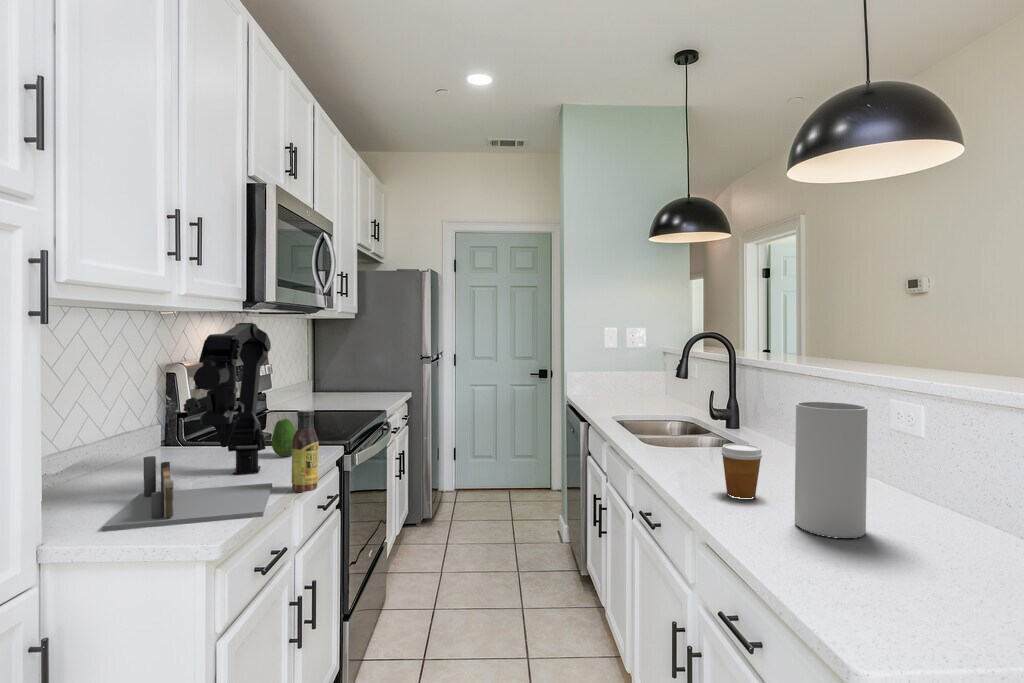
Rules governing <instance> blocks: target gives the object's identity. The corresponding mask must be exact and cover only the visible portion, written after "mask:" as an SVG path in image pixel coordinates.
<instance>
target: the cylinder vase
mask: <svg viewBox="0 0 1024 683" xmlns="http://www.w3.org/2000/svg"><path fill="white" fill-rule="evenodd" d="M794 447H795V449H794V450H795V456H794V457H795V461H794V462H795V464H794V465H795V466H794V467H795V468H794V475H795V476H794V478H795V479H794V523H795V524H796V526H797V527H798V526H799V527H800V529H801V528H802V529H801V530H803V529H804V530H803V531H805V530H806V531H805V532H807V531H809V532H812V533H815V534H819V535H824V536H830V537H837V538H854V539H858V537H859V538H861V537H863V536H864V535H865V534H866V532H867V481H868V480H867V479H868V478H867V476H868V475H867V474H868V473H867V471H868V470H867V468H868V467H867V466H868V464H867V463H868V460H867V459H868V407H867V406H864V405H860V404H852V403H845V402H834V401H833V402H831V401H829V402H828V401H801V402H796V403H795V446H794ZM799 527H798V528H799ZM809 532H808V533H809ZM812 533H811V534H812ZM815 534H814V535H815ZM819 535H818V536H819Z"/></svg>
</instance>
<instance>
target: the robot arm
mask: <svg viewBox="0 0 1024 683" xmlns="http://www.w3.org/2000/svg"><path fill="white" fill-rule="evenodd" d="M202 345H203V346H202V349H201V352H200V356H199V360H198V363H199V364H202V366H200V367H199V368H198V369H196V371H195V373H194V375H193V379H194V380H193V381H194V383H195V385H196V386H197V387H198V388H199V389H201V390H204V391H207V392H206V395H204V396H201V397H200V398H199V397H198V398H196V397H195V396H192V397H190V398H188V399H186V400H185V403H184V404H183V412H186V413H187V416H188V417H191V416H194V415H195V414H197V413H200V412H203V411H205V410H206V412H204V413H203V414H202V415H201V416H200V417H199V418H200V426H212V427H214V429H215V430H216V434H217V437H218V440H219V443H220V446H221V448H226V447H227V449H228V450H227V451H228V452H235V468H234V470H233V472H232V475H243V474H244V475H247V474H258V473H260V470H261V468H262V466H261V465H259V451H263V450H266V438H265V436H264V433H263V430H262V425H261V423H260V421H259V418H258V417H257V416H256V414H257V407H258V406H257V405H258V398H259V397H258V396H259V386H260V377H261V367H262V366H263V364H264V363H265V362H266V361H267V359H268V356H269V352H270V351H271V346H272V345H271V339H270V338H269V335H268V333H266V332H265V331H264V330H262V329H260V328H259V327H258V325H257V323H254V322H238V323H236V324H235V326H234V327H231V328H229V330H227V331H225V332H224V333H214V334H213V333H212V334H208V336H207V337H206V339H204V341H203V344H202ZM239 358H240V360H241V362H242V372H241V381H240V391H239V388H238V387H237V369H236V368H237V360H239ZM238 392H239V398H238V400H237V393H238ZM235 412H237V413H236V415H235V416H234V413H235Z"/></svg>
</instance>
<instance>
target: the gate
mask: <svg viewBox="0 0 1024 683" xmlns="http://www.w3.org/2000/svg"><path fill="white" fill-rule="evenodd" d="M170 462H171V461H163V462H160V491H164V518H165V517H172V516H174V497H173V491H174V480H172V478H171V463H170Z"/></svg>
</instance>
